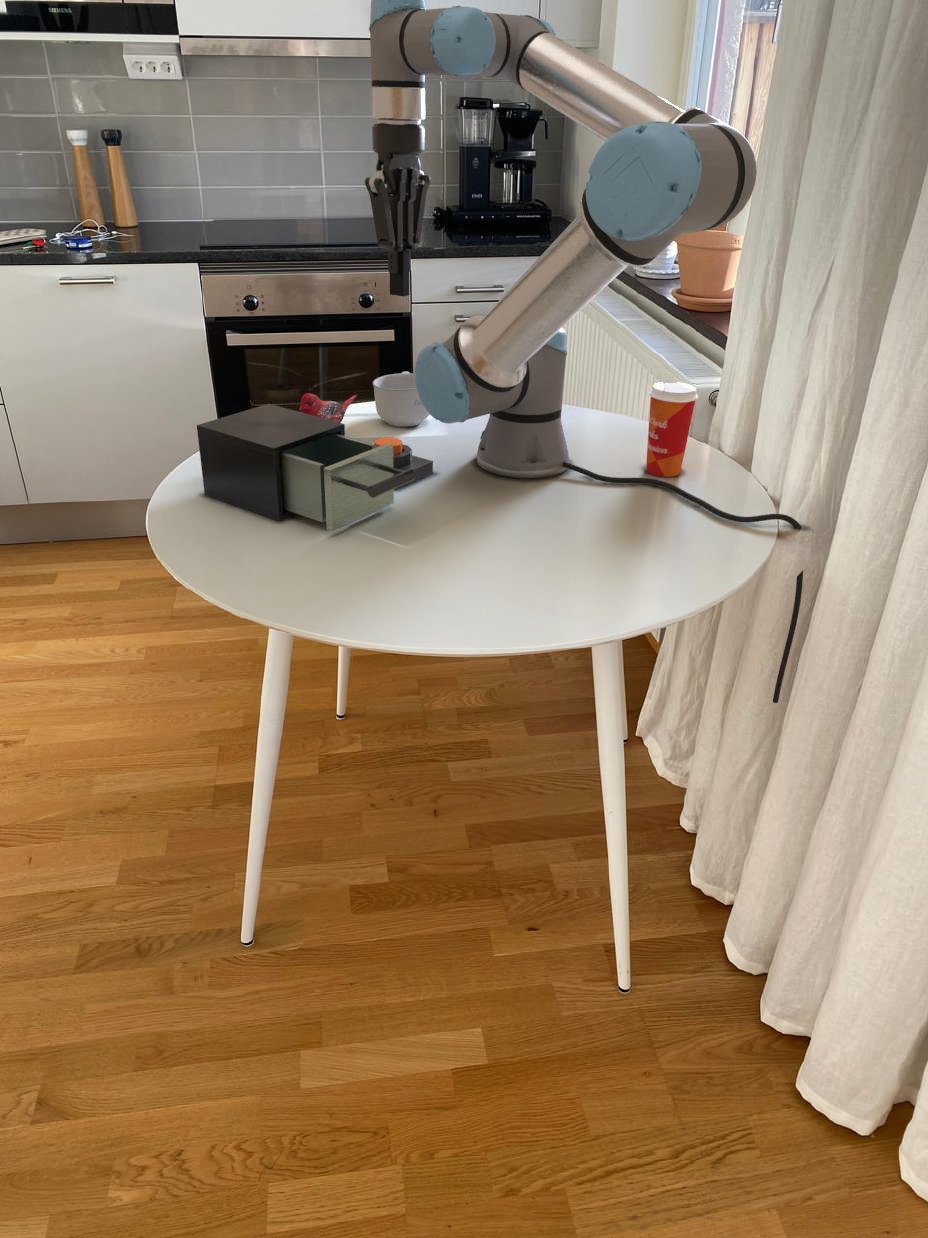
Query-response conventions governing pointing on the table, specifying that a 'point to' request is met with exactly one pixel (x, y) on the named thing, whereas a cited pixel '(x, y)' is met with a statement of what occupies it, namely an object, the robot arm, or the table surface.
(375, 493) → the drawer
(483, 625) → the table surface
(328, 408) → the decorative bird figurine
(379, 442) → the button
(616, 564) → the table surface
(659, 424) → the paper cup
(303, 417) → the cabinet
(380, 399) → the teacup
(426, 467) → the block
